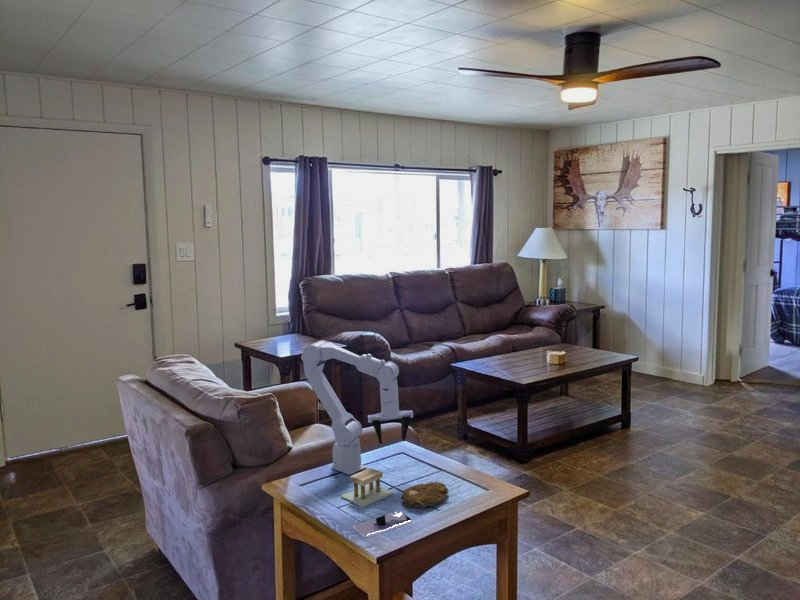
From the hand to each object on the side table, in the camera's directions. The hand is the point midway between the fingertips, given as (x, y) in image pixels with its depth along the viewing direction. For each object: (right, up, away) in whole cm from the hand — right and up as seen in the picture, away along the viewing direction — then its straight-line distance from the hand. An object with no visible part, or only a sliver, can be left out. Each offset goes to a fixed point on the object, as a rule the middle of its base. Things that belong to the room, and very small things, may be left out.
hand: (392, 441), depth 199 cm
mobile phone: (-2, -15, -34) cm, 37 cm away
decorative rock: (+10, -13, -20) cm, 26 cm away
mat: (-7, -13, -15) cm, 21 cm away
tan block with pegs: (-7, -12, -15) cm, 21 cm away
